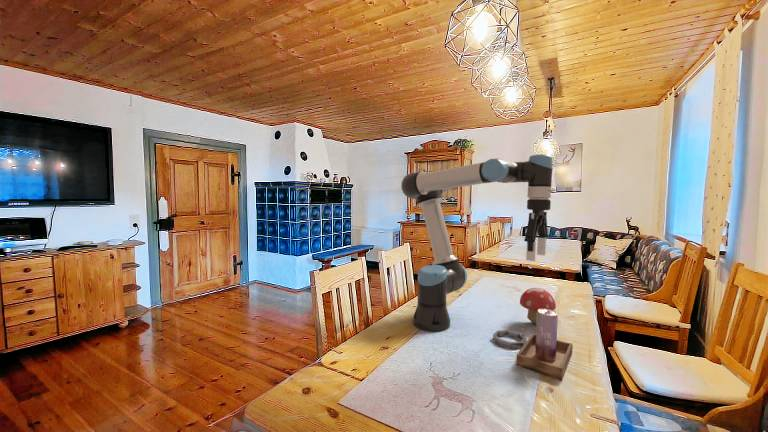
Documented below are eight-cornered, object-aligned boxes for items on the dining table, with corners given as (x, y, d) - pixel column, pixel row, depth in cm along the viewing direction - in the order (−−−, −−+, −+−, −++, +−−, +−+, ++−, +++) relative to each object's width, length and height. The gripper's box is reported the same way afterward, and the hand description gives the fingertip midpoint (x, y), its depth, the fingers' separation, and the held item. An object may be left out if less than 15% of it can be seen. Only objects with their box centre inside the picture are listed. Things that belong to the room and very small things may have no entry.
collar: (490, 342, 114) (490, 337, 114) (499, 332, 123) (499, 328, 123) (520, 351, 108) (520, 346, 108) (528, 340, 116) (528, 335, 116)
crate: (516, 365, 99) (516, 354, 99) (531, 342, 114) (532, 333, 114) (562, 380, 91) (562, 368, 91) (572, 353, 107) (572, 343, 106)
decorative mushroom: (523, 329, 126) (524, 292, 125) (515, 316, 139) (516, 283, 138) (560, 332, 123) (561, 294, 122) (548, 319, 136) (550, 284, 135)
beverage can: (556, 355, 104) (558, 310, 103) (555, 363, 99) (557, 316, 98) (536, 350, 107) (537, 307, 106) (534, 358, 102) (536, 312, 101)
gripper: (540, 199, 101) (537, 264, 103) (558, 198, 120) (555, 254, 122) (516, 198, 106) (514, 261, 108) (537, 198, 125) (534, 251, 127)
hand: (536, 257), depth 115 cm, fingers open, 13 cm apart
